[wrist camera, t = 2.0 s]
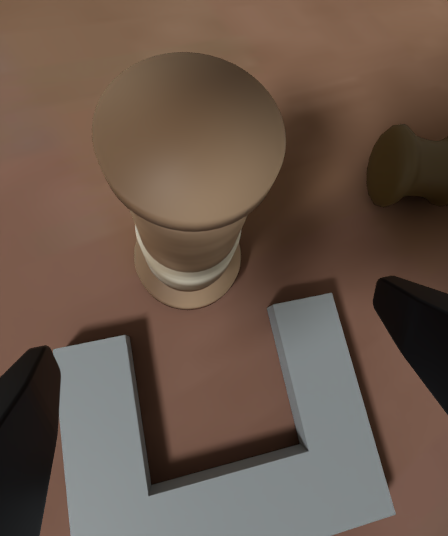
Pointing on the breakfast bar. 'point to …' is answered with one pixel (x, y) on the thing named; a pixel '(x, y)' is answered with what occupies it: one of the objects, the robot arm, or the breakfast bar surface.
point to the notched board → (233, 474)
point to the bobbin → (188, 167)
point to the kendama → (407, 168)
